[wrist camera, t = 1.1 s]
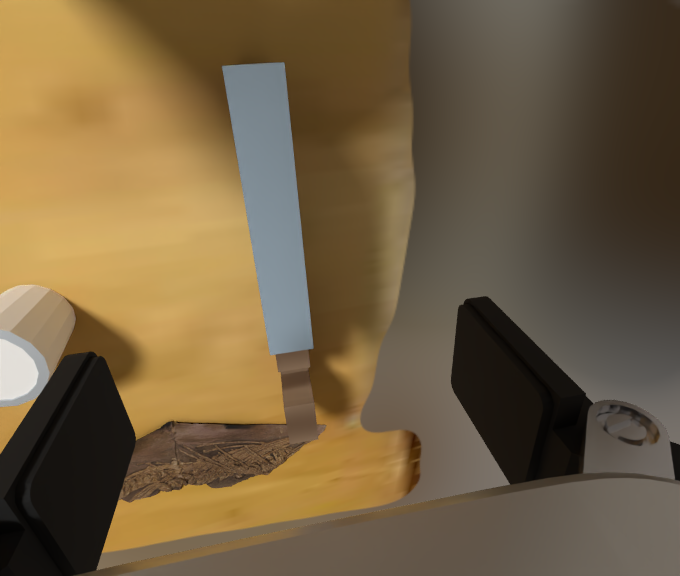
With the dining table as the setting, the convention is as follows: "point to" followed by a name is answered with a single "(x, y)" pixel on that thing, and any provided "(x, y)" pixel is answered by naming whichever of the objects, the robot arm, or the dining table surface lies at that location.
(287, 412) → the wood grain block
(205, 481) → the wooden fragment
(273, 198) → the blue-grey notched panel
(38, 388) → the white topped beige cylinder
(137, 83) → the dining table surface
